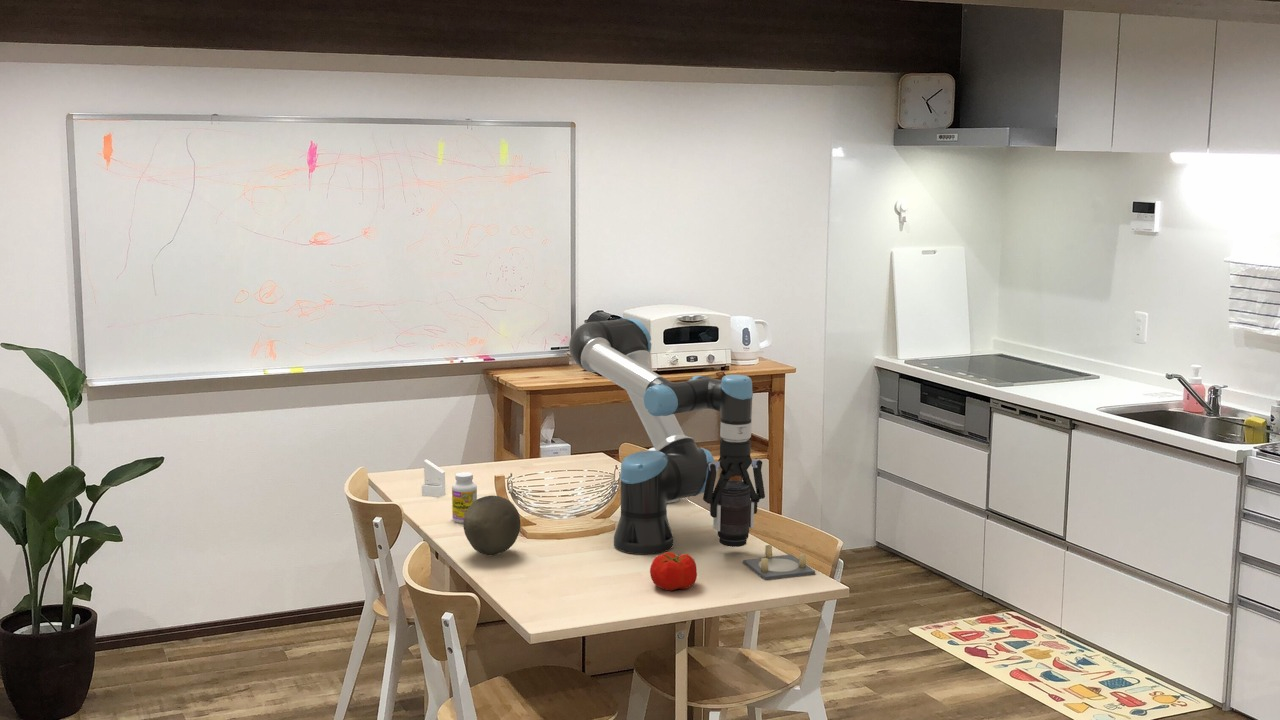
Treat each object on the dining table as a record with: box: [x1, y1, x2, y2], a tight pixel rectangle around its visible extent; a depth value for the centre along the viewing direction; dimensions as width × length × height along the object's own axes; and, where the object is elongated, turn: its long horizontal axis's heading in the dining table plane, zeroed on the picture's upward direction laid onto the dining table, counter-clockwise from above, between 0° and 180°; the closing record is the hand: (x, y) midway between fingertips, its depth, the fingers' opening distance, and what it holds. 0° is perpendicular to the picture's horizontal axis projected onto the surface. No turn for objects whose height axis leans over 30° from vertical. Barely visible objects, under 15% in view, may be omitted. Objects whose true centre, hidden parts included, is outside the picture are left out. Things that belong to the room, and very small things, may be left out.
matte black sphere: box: [462, 495, 521, 557], centre depth 303 cm, size 14×14×15 cm
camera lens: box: [717, 480, 751, 548], centre depth 304 cm, size 8×8×15 cm
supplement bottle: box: [451, 471, 478, 524], centre depth 333 cm, size 7×7×13 cm
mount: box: [742, 544, 816, 581], centre depth 294 cm, size 13×13×4 cm
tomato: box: [649, 551, 698, 591], centre depth 282 cm, size 11×11×8 cm
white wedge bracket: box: [421, 458, 446, 498], centre depth 358 cm, size 4×10×9 cm
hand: (733, 527), depth 304 cm, fingers closed on camera lens, 8 cm apart
